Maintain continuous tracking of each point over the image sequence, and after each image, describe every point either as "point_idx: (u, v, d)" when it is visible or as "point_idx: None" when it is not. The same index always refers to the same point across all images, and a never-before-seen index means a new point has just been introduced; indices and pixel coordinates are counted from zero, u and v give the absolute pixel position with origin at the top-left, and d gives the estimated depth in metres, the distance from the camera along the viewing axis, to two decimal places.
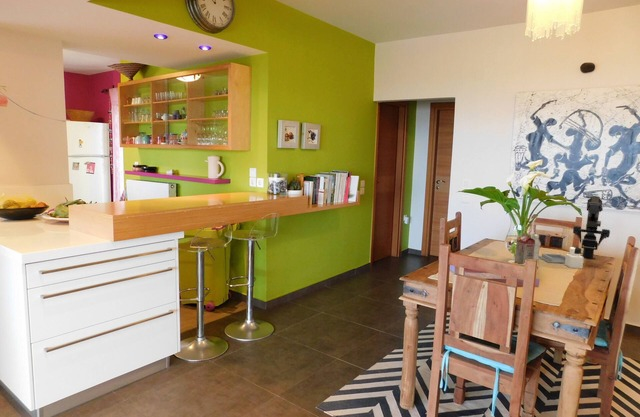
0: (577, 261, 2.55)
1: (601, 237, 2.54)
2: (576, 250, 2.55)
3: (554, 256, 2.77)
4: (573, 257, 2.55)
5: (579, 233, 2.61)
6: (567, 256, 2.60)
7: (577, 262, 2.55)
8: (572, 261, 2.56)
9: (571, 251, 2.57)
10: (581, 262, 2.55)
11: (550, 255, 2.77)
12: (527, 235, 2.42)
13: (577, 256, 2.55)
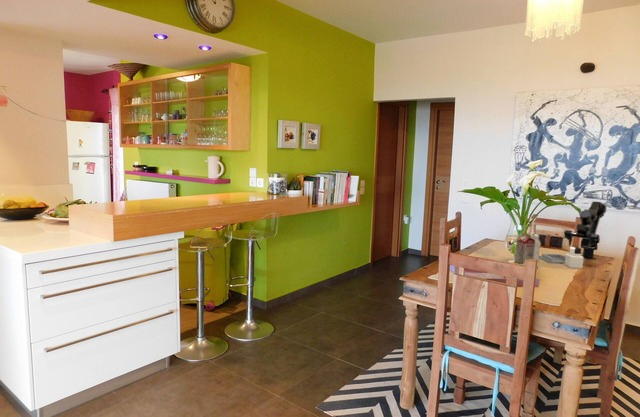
0: (577, 261, 2.55)
1: (590, 241, 2.59)
2: (576, 250, 2.55)
3: (554, 256, 2.77)
4: (573, 257, 2.55)
5: (569, 236, 2.67)
6: (567, 256, 2.60)
7: (577, 262, 2.55)
8: (572, 261, 2.56)
9: (571, 251, 2.57)
10: (581, 262, 2.55)
11: (550, 255, 2.77)
12: (527, 235, 2.42)
13: (577, 256, 2.55)
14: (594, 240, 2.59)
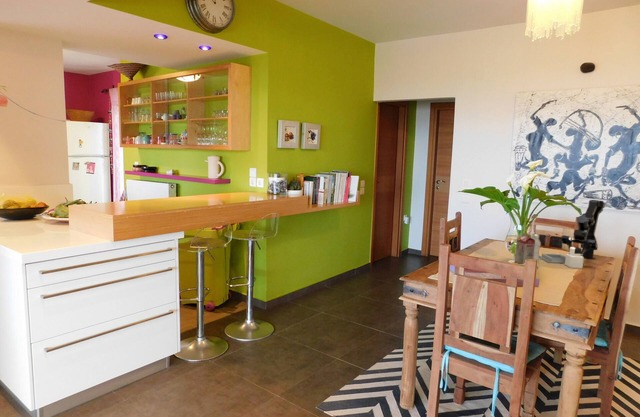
0: (577, 261, 2.55)
1: (584, 246, 2.56)
2: (576, 250, 2.55)
3: (554, 256, 2.77)
4: (573, 257, 2.55)
5: (569, 242, 2.63)
6: (567, 256, 2.60)
7: (577, 262, 2.55)
8: (572, 261, 2.56)
9: (571, 251, 2.57)
10: (581, 262, 2.55)
11: (550, 255, 2.77)
12: (527, 235, 2.42)
13: (577, 256, 2.55)
14: (589, 245, 2.56)
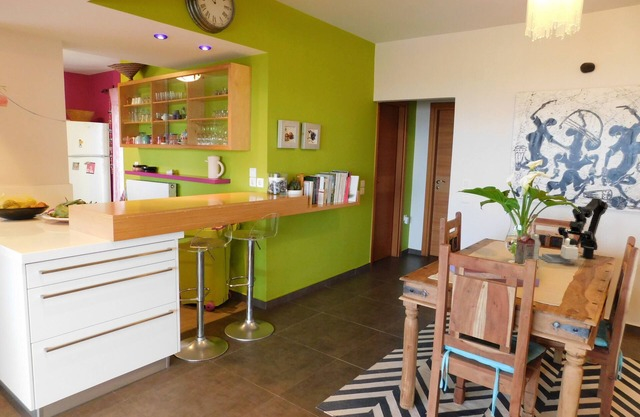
0: (572, 252, 2.58)
1: (580, 237, 2.59)
2: (571, 241, 2.58)
3: (554, 256, 2.77)
4: (568, 248, 2.58)
5: (565, 234, 2.65)
6: (562, 247, 2.63)
7: (572, 253, 2.58)
8: (567, 252, 2.59)
9: (566, 242, 2.60)
10: (576, 253, 2.58)
11: (550, 255, 2.77)
12: (527, 235, 2.42)
13: (572, 247, 2.58)
14: (584, 237, 2.58)
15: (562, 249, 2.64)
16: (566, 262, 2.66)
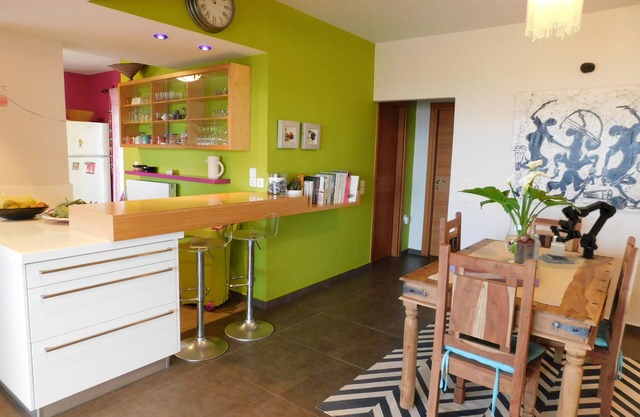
0: (558, 249, 2.68)
1: (567, 235, 2.67)
2: (557, 238, 2.68)
3: (554, 256, 2.77)
4: (554, 245, 2.69)
5: (555, 232, 2.75)
6: (551, 244, 2.74)
7: (558, 250, 2.68)
8: (553, 249, 2.69)
9: (553, 239, 2.71)
10: (562, 250, 2.67)
11: (550, 255, 2.77)
12: (527, 235, 2.42)
13: (558, 244, 2.68)
14: (572, 235, 2.67)
15: None
16: (566, 262, 2.66)
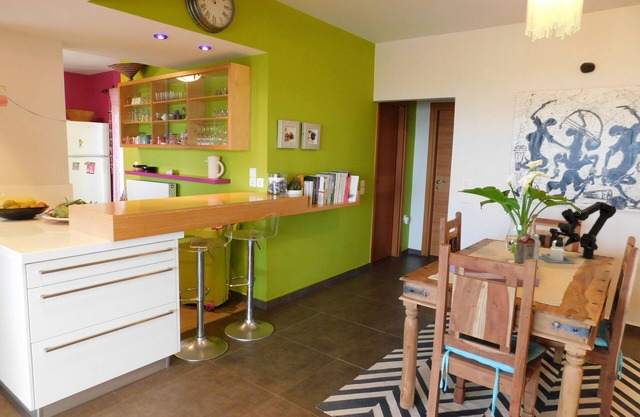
0: (557, 254, 2.68)
1: (569, 239, 2.66)
2: (557, 243, 2.69)
3: None
4: (553, 250, 2.69)
5: (552, 234, 2.77)
6: (550, 249, 2.74)
7: (557, 255, 2.69)
8: (552, 253, 2.70)
9: (553, 244, 2.71)
10: (561, 255, 2.68)
11: None
12: (527, 235, 2.42)
13: (558, 249, 2.69)
14: (574, 238, 2.66)
15: (550, 251, 2.75)
16: (566, 262, 2.66)
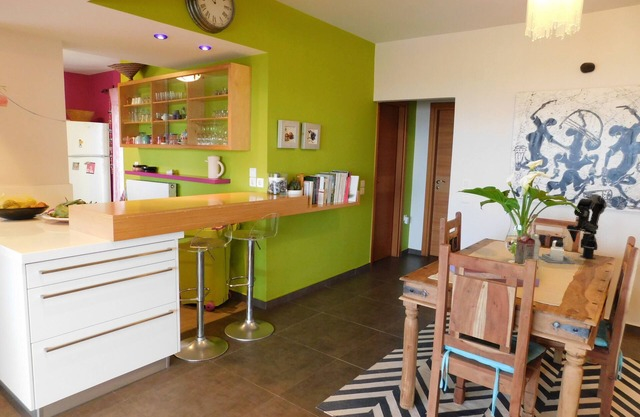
0: (557, 254, 2.68)
1: (589, 237, 2.67)
2: (557, 243, 2.69)
3: None
4: (553, 250, 2.69)
5: (576, 233, 2.64)
6: (550, 249, 2.74)
7: (557, 255, 2.69)
8: (552, 253, 2.70)
9: (553, 244, 2.71)
10: (561, 255, 2.68)
11: None
12: (527, 235, 2.42)
13: (558, 249, 2.69)
14: None
15: (550, 251, 2.75)
16: (566, 262, 2.66)
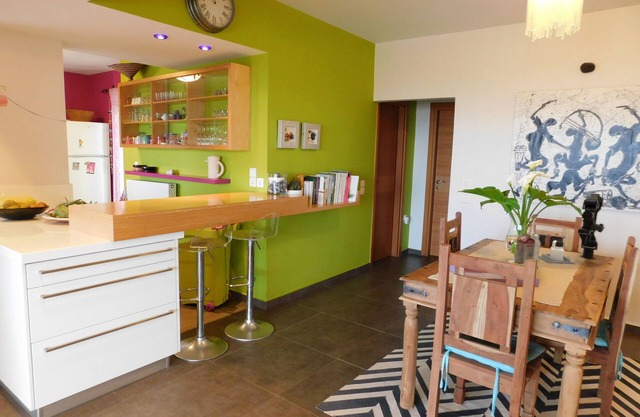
0: (557, 254, 2.68)
1: (591, 235, 2.68)
2: (557, 243, 2.69)
3: None
4: (553, 250, 2.69)
5: (587, 236, 2.60)
6: (550, 249, 2.74)
7: (557, 255, 2.69)
8: (552, 253, 2.70)
9: (553, 244, 2.71)
10: (561, 255, 2.68)
11: None
12: (527, 235, 2.42)
13: (558, 249, 2.69)
14: (591, 231, 2.70)
15: (550, 251, 2.75)
16: (566, 262, 2.66)
